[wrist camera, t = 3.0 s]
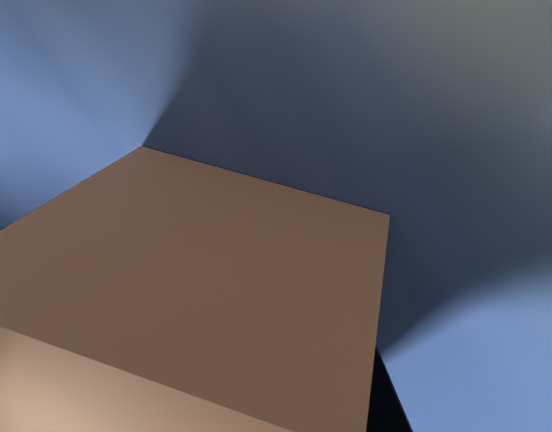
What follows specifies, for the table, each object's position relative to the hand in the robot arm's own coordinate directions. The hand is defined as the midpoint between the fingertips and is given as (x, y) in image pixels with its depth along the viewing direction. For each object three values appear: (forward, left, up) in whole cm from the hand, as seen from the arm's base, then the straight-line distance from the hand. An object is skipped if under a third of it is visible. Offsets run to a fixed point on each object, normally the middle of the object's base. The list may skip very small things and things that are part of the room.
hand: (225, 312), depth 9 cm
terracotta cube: (0, 0, -1) cm, 1 cm away
